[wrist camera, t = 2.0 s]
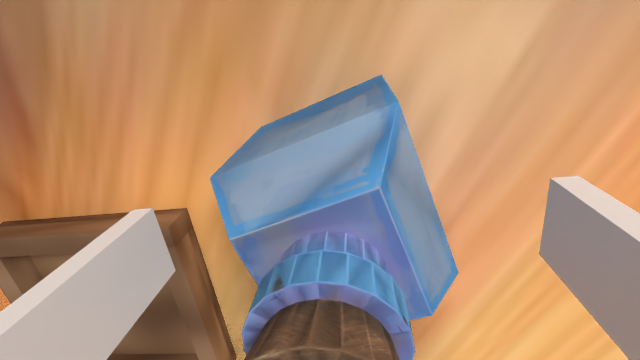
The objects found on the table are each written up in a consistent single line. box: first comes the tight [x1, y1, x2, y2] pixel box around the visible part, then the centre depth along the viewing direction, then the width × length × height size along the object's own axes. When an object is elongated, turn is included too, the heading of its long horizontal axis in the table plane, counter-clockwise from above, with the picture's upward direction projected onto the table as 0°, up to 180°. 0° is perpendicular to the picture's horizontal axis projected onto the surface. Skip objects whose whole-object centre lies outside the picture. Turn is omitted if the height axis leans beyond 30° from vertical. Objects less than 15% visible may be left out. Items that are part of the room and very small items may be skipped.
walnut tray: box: [0, 208, 236, 360], centre depth 21 cm, size 12×12×2 cm
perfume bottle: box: [210, 75, 458, 360], centre depth 11 cm, size 6×6×12 cm
